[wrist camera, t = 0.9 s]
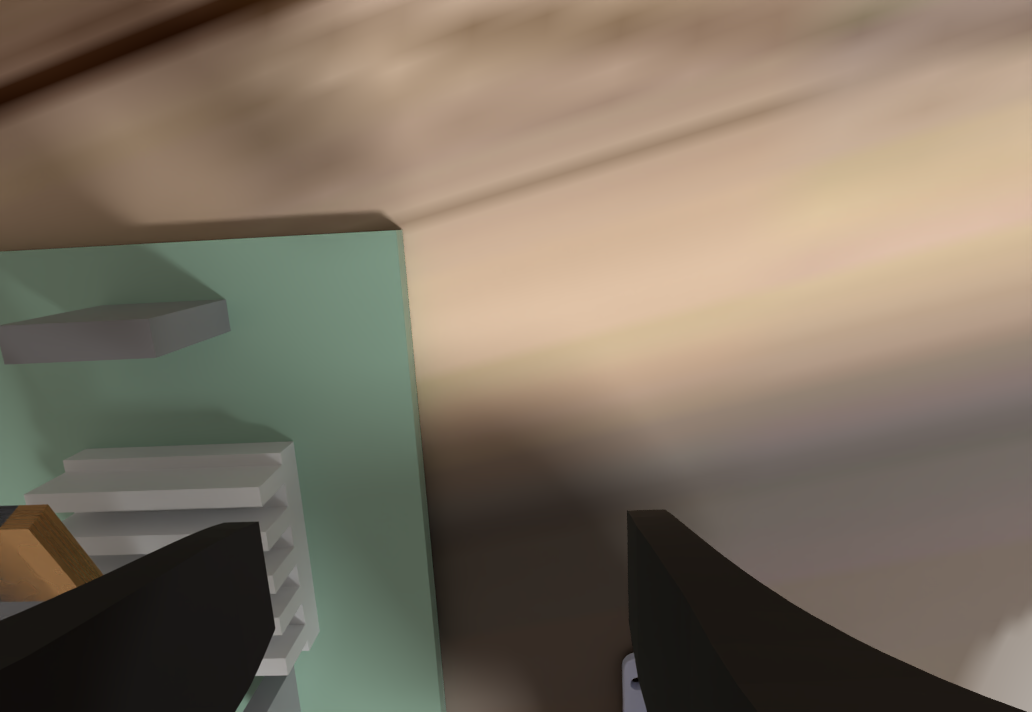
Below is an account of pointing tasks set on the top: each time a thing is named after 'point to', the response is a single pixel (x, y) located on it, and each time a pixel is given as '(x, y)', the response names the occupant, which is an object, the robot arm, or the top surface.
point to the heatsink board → (239, 437)
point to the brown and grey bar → (38, 558)
